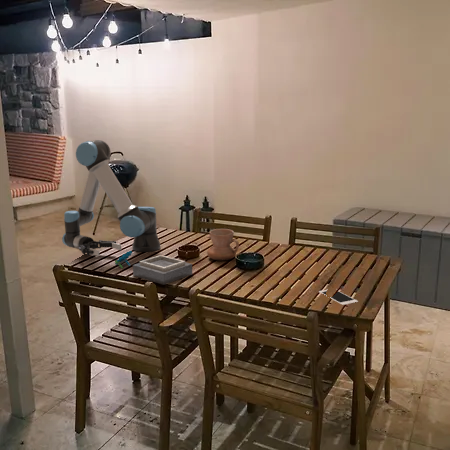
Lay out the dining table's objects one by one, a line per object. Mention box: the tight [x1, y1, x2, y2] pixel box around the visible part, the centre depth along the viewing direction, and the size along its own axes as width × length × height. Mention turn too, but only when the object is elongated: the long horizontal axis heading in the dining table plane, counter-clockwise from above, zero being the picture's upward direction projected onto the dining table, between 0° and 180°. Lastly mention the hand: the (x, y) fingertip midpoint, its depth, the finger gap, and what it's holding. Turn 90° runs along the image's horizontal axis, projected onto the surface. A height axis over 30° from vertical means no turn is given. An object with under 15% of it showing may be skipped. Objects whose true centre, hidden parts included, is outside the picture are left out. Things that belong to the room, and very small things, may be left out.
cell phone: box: [318, 289, 359, 306], centre depth 200 cm, size 8×16×1 cm, turn 25°
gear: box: [114, 250, 133, 269], centre depth 241 cm, size 11×6×10 cm
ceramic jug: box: [206, 228, 240, 261], centre depth 251 cm, size 18×14×14 cm
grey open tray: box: [132, 254, 193, 286], centre depth 227 cm, size 18×20×6 cm
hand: (109, 250), depth 246 cm, fingers open, 13 cm apart
